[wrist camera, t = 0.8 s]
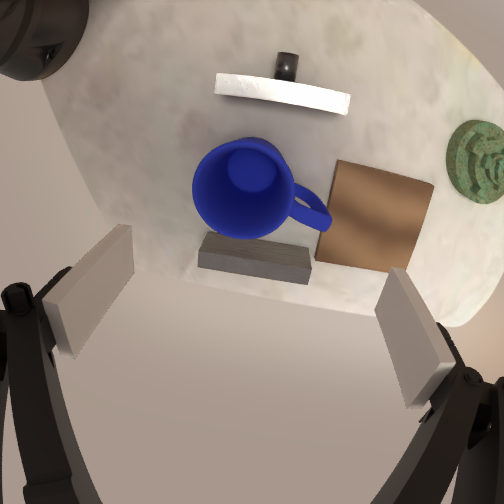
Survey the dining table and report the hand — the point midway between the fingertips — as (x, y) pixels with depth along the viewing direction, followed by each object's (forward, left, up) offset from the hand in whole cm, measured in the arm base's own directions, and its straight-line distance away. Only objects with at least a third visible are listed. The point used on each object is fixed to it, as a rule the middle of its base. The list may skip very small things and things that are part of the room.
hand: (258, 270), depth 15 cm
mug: (0, 0, -21) cm, 21 cm away
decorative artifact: (-8, +25, -21) cm, 34 cm away
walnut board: (+3, +13, -21) cm, 24 cm away
